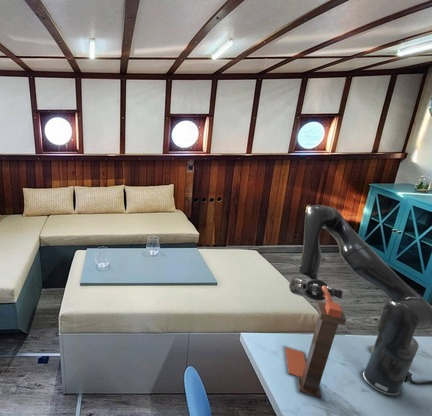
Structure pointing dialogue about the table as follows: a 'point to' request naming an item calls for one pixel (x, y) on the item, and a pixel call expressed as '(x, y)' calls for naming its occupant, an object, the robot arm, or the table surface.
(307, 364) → the wooden square pillar
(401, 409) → the table surface
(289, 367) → the terracotta mat
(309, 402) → the table surface
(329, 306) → the orange toy mallet
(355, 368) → the table surface
